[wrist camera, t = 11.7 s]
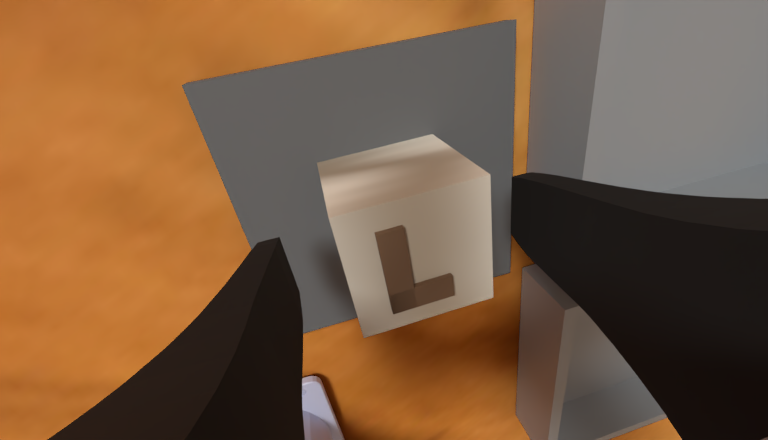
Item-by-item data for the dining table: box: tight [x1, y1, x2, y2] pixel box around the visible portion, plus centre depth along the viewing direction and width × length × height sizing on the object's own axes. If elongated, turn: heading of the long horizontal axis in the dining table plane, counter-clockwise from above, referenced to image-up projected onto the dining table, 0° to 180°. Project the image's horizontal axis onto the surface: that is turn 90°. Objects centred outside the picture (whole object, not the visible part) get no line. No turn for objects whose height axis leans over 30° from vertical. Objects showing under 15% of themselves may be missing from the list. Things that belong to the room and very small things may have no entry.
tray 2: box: [516, 264, 667, 440], centre depth 19 cm, size 13×12×3 cm
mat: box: [182, 20, 516, 333], centre depth 13 cm, size 10×10×1 cm
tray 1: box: [527, 0, 768, 199], centre depth 12 cm, size 13×12×3 cm
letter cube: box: [317, 134, 493, 338], centre depth 11 cm, size 4×4×4 cm
